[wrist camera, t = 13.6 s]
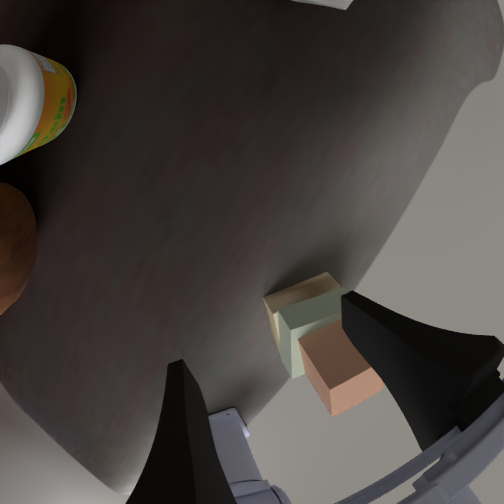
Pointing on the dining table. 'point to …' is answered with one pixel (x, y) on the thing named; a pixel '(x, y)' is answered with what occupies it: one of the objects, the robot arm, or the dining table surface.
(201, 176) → the dining table surface
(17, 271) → the wooden figurine
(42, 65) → the supplement bottle
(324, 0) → the die
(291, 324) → the tower top block
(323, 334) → the terracotta block
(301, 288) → the tower base block
